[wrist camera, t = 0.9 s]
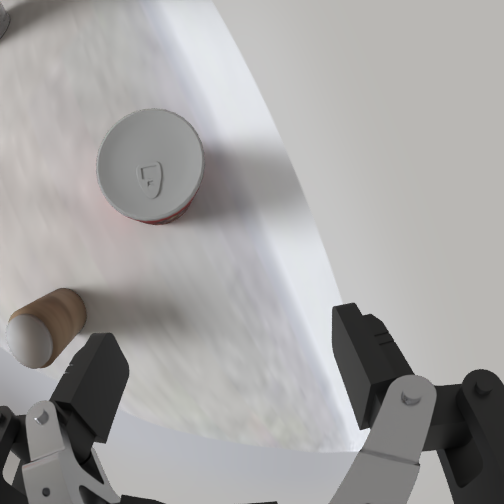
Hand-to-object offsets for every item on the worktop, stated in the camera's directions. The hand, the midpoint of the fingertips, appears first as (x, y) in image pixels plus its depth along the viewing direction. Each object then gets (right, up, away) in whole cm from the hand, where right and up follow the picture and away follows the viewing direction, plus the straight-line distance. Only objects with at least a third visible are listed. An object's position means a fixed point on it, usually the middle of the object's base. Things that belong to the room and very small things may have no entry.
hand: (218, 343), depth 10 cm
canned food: (-9, +10, +19) cm, 23 cm away
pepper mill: (-19, -3, +17) cm, 25 cm away
